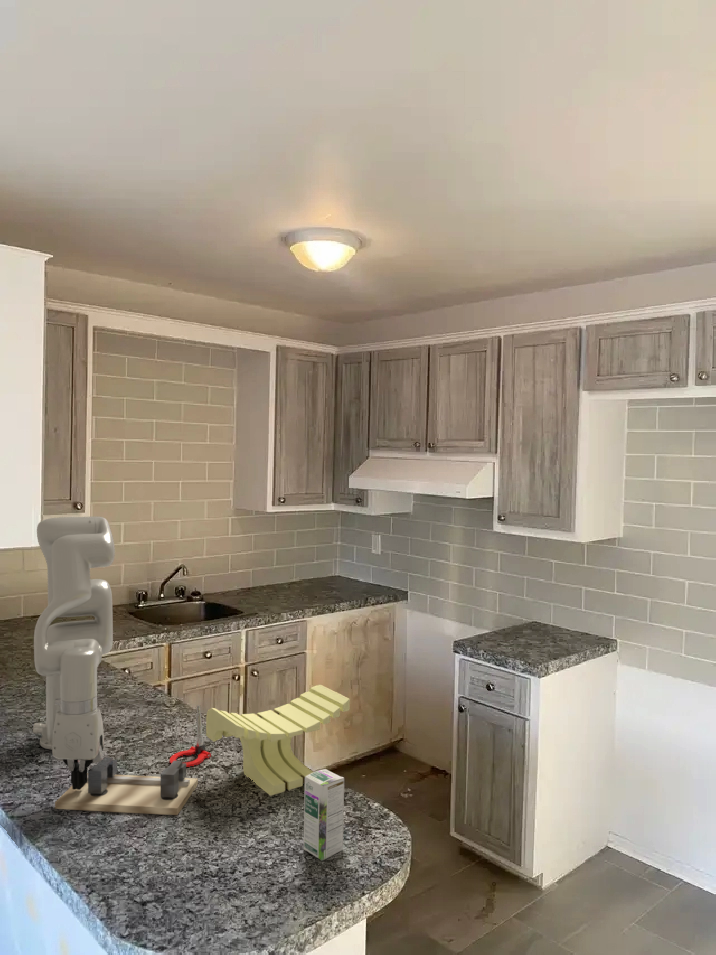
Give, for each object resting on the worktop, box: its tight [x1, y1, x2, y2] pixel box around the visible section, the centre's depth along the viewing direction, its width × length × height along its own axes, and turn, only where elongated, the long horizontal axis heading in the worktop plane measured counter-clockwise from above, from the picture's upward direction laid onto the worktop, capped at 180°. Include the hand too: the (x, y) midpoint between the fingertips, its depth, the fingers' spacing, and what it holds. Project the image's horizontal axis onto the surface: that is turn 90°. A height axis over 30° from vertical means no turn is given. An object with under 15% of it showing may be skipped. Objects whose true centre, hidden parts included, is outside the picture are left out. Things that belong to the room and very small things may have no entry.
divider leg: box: [87, 756, 118, 794], centre depth 161 cm, size 3×8×5 cm, turn 175°
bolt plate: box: [54, 760, 199, 816], centre depth 160 cm, size 27×14×7 cm, turn 85°
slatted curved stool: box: [205, 684, 351, 797], centre depth 171 cm, size 30×16×18 cm, turn 126°
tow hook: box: [169, 704, 212, 768], centre depth 179 cm, size 8×13×9 cm
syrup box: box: [303, 768, 345, 862], centre depth 139 cm, size 6×6×14 cm
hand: (79, 786), depth 158 cm, fingers closed
